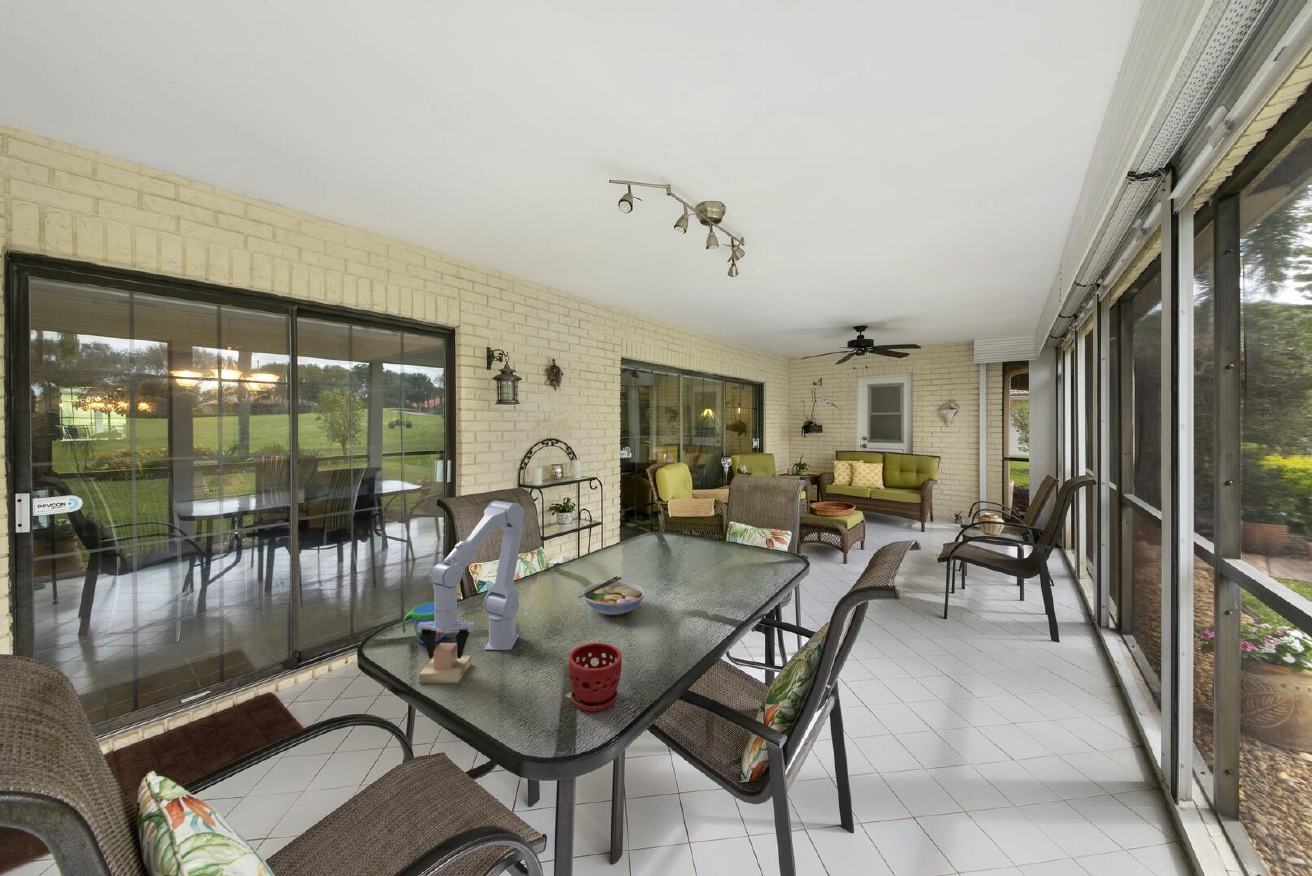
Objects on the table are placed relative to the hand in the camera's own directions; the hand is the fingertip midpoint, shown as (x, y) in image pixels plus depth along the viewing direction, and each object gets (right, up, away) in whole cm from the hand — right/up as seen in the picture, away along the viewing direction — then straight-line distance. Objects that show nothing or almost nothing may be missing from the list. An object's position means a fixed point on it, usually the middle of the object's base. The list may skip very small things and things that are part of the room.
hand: (446, 656), depth 134 cm
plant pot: (+42, -6, -12) cm, 44 cm away
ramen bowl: (+42, -4, +44) cm, 61 cm away
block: (0, -2, 0) cm, 2 cm away
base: (0, -5, 0) cm, 5 cm away
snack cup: (-13, -4, +20) cm, 24 cm away
